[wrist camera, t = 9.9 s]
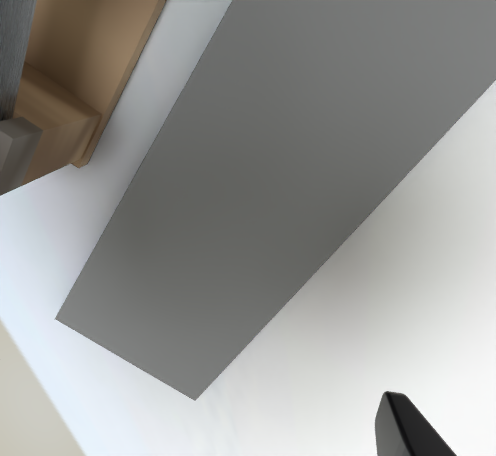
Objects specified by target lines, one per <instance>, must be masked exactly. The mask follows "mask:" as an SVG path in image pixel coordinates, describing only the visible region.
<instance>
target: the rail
mask: <svg viewBox="0 0 496 456" xmlns="http://www.w3.org/2000/svg"><path fill="white" fill-rule="evenodd" d="M36 2H37V0H0V121H3V120H8V119H12V118H13V113H14V109H15V104H16V99H17V94H18V89H19V84H20V79H21V75H22V70H23V65H24V60H25V55H26V50H27V46H28V41H29V36H30V31H31V26H32V21H33V16H34V12H35V7H36Z"/></svg>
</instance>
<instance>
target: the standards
mask: <svg viewBox="0 0 496 456" xmlns="http://www.w3.org/2000/svg"><path fill="white" fill-rule="evenodd" d="M165 2H166V0H37V2H36V7H35V12H34V16H33V21H32V26H31V31H30V36H29V41H28V46H27V50H26V55H25V60H24V65H23V70H22V75H21V79H20V84H19V89H18V94H17V99H16V104H15V109H14V113H13V118H12V119H8V120H3V121H0V196H1V195H3V194H5V193H7V192H9V191H11V190H14V189H16V188H18V187H20V186H22V185H25V184H27V183H29V182H31V181H33V180H35V179H38V178H40V177H42V176H44V175H46V174H49V173H51V172H53V171H55V170H57V169H60V168H62V167H64V166H66V165H68V164H70V163H71V164H73V165H74V166H76V167H77V168H80V167H82V166H84V165H86V164H88V161H89V159H90V157H91V155H92V153H93V151H94V149H95V147H96V145H97V143H98V141H99V139H100V137H101V135H102V133H103V130H104V128H105V126H106V124H107V122H108V120H109V118H110V116H111V114H112V112H113V110H114V108H115V106H116V104H117V102H118V99H119V97H120V95H121V93H122V91H123V89H124V87H125V85H126V83H127V81H128V79H129V77H130V75H131V73H132V71H133V68H134V66H135V64H136V62H137V60H138V58H139V56H140V54H141V52H142V50H143V48H144V46H145V44H146V42H147V40H148V37H149V35H150V33H151V31H152V29H153V27H154V25H155V23H156V21H157V19H158V17H159V15H160V13H161V11H162V9H163V6H164V4H165Z"/></svg>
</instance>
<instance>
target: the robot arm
mask: <svg viewBox="0 0 496 456" xmlns="http://www.w3.org/2000/svg"><path fill="white" fill-rule="evenodd" d="M375 434H376V445H377V455H378V456H457V455H456V454H455V453H454V452H453V451H452V449H451V448H450V447H449V446H448V445H447V444H446V442H445V441H444V440H443V439H442V438H441V436H440V435H439V434H438V433H437V432H436V430H435V429H434V428H433V427H432V426H431V424H430V423H429V422H428V421H427V420H426V419H425V417H424V416H423V415H422V414H421V413H420V411H419V410H418V409H417V408H416V407H415V405H414V404H413V403H412V402H411V401H410V399H409V398H408V397H407V396H406V395H404V394H402V393H396V392H389V391H386V392H384V394H383V396H382V399H381V402H380V405H379V408H378V411H377V415H376V418H375Z"/></svg>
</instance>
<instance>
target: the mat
mask: <svg viewBox="0 0 496 456" xmlns="http://www.w3.org/2000/svg"><path fill="white" fill-rule="evenodd" d="M495 80H496V0H233V1H232V3H231V4H230V6H229V8H228V10H227V11H226V13H225V15H224V17H223V19H222V20H221V22H220V24H219V26H218V28H217V29H216V31H215V33H214V35H213V37H212V38H211V40H210V42H209V44H208V46H207V47H206V49H205V51H204V53H203V54H202V56H201V58H200V60H199V62H198V63H197V65H196V67H195V69H194V71H193V72H192V74H191V76H190V78H189V80H188V81H187V83H186V85H185V87H184V89H183V90H182V92H181V94H180V96H179V97H178V99H177V101H176V103H175V105H174V106H173V108H172V110H171V112H170V114H169V115H168V117H167V119H166V121H165V123H164V124H163V126H162V128H161V130H160V131H159V133H158V135H157V137H156V139H155V140H154V142H153V144H152V146H151V148H150V149H149V151H148V153H147V155H146V157H145V158H144V160H143V162H142V164H141V166H140V167H139V169H138V171H137V173H136V174H135V176H134V178H133V180H132V182H131V183H130V185H129V187H128V189H127V191H126V192H125V194H124V196H123V198H122V200H121V201H120V203H119V205H118V207H117V209H116V210H115V212H114V214H113V216H112V217H111V219H110V221H109V223H108V225H107V226H106V228H105V230H104V232H103V234H102V235H101V237H100V239H99V241H98V243H97V244H96V246H95V248H94V250H93V252H92V253H91V255H90V257H89V259H88V260H87V262H86V264H85V266H84V268H83V269H82V271H81V273H80V275H79V277H78V278H77V280H76V282H75V284H74V286H73V287H72V289H71V291H70V293H69V295H68V296H67V298H66V300H65V302H64V303H63V305H62V307H61V309H60V311H59V312H58V314H57V316H56V318H55V319H56V320H58V321H59V322H61V323H63V324H65V325H66V326H68V327H70V328H71V329H73V330H75V331H77V332H78V333H80V334H82V335H83V336H85V337H87V338H89V339H90V340H92V341H94V342H95V343H97V344H99V345H101V346H102V347H104V348H106V349H107V350H109V351H111V352H112V353H114V354H116V355H118V356H119V357H121V358H123V359H124V360H126V361H128V362H130V363H131V364H133V365H135V366H136V367H138V368H140V369H142V370H143V371H145V372H147V373H148V374H150V375H152V376H154V377H155V378H157V379H159V380H160V381H162V382H164V383H165V384H167V385H169V386H171V387H172V388H174V389H176V390H177V391H179V392H181V393H183V394H184V395H186V396H188V397H189V398H191V399H193V400H196V399H197V398H198V397H199V396H200V395H201V394H202V393H203V392H204V391H205V390H206V389H207V388H208V386H209V385H210V384H211V383H212V382H213V381H214V380H215V379H216V378H217V377H218V376H219V375H220V374H221V373H222V372H223V370H224V369H225V368H226V367H227V366H228V365H229V364H230V363H231V362H232V361H233V360H234V359H235V358H236V357H237V356H238V354H239V353H240V352H241V351H242V350H243V349H244V348H245V347H246V346H247V345H248V344H249V343H250V342H251V341H252V340H253V338H254V337H255V336H256V335H257V334H258V333H259V332H260V331H261V330H262V329H263V328H264V327H265V326H266V325H267V324H268V322H269V321H270V320H271V319H272V318H273V317H274V316H275V315H276V314H277V313H278V312H279V311H280V310H281V309H282V307H283V306H284V305H285V304H286V303H287V302H288V301H289V300H290V299H291V298H292V297H293V296H294V295H295V294H296V293H297V291H298V290H299V289H300V288H301V287H302V286H303V285H304V284H305V283H306V282H307V281H308V280H309V279H310V278H311V277H312V275H313V274H314V273H315V272H316V271H317V270H318V269H319V268H320V267H321V266H322V265H323V264H324V263H325V262H326V261H327V259H328V258H329V257H330V256H331V255H332V254H333V253H334V252H335V251H336V250H337V249H338V248H339V247H340V246H341V245H342V243H343V242H344V241H345V240H346V239H347V238H348V237H349V236H350V235H351V234H352V233H353V232H354V231H355V230H356V229H357V227H358V226H359V225H360V224H361V223H362V222H363V221H364V220H365V219H366V218H367V217H368V216H369V215H370V214H371V213H372V211H373V210H374V209H375V208H376V207H377V206H378V205H379V204H380V203H381V202H382V201H383V200H384V199H385V198H386V197H387V195H388V194H389V193H390V192H391V191H392V190H393V189H394V188H395V187H396V186H397V185H398V184H399V183H400V182H401V181H402V179H403V178H404V177H405V176H406V175H407V174H408V173H409V172H410V171H411V170H412V169H413V168H414V167H415V166H416V165H417V163H418V162H419V161H420V160H421V159H422V158H423V157H424V156H425V155H426V154H427V153H428V152H429V151H430V150H431V149H432V147H433V146H434V145H435V144H436V143H437V142H438V141H439V140H440V139H441V138H442V137H443V136H444V135H445V134H446V132H447V131H448V130H449V129H450V128H451V127H452V126H453V125H454V124H455V123H456V122H457V121H458V120H459V119H460V118H461V116H462V115H463V114H464V113H465V112H466V111H467V110H468V109H469V108H470V107H471V106H472V105H473V104H474V103H475V102H476V100H477V99H478V98H479V97H480V96H481V95H482V94H483V93H484V92H485V91H486V90H487V89H488V88H489V87H490V86H491V84H492V83H493V82H494V81H495Z"/></svg>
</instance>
